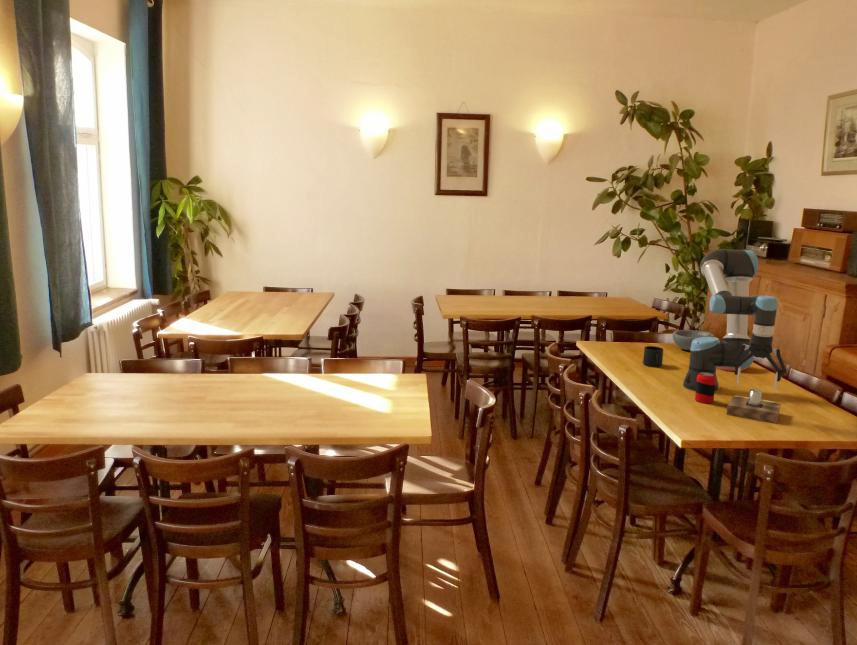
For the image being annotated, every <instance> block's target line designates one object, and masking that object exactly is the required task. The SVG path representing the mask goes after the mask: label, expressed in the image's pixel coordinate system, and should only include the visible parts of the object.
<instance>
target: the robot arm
mask: <svg viewBox="0 0 857 645" xmlns="http://www.w3.org/2000/svg"><path fill="white" fill-rule="evenodd" d="M699 270H700V272H701V275H702V276H703V277H704V278H705V280H706V282H707V285H708V288H709V291H710V294H711V296H710V299H709V311H710V312H711V313H713V314H719V315H727V316H726V334H725V335H724V336H723V337H722V341H721V340H720V338H718V337H716V336H715V337H700V338H696V339H694V340H693V341H692V344H691V348H690V350H691V351H690V352H689V353H690V354H689V361H688V362H689V364H688V371H687V373H686V375H685V377H684V379H683V383H682V385H683V387H684V388H686V389H689V390H692V391H696V382H697V376H698V375H699V374H700V373H703V372H705V373H711V374H714V376H715V377H716V384H715V392H717V391H718V390H719V387H720V386H719V385H720V384H719V381H718V377H717V368H716V367H731V368H735V371H734V376H736V384H739V383H740V378H741V372H742V371H741V368H746V369H747V368H750V367H751V365H752V364H753V362H754V359H755V358H760V359H765V358H766V359H767V360H768V361H769V364H771V365H772V367H773V369H774V370H775V371H776V372H775V376H774V384H773V390H775V391H776V390H777V385H778V382H781V379H782V374H786V373H787V372H788V369H787V366H786V364H785V361H784V359H783V357H782V355H781V348H780V347H778V348H773V341H774V338H773V337H774V336H773V335H775V333H774V332H775V326H776V325H775V324H776V317H777V312H778V308H779V307H778V306H779V305H778V298H777V297H775V296H772V295H751V296H750V294H749V293H750V282H752V281H753V280H754V277H755V276H757V274H758V272H759V271H758V270H759V259H758V256H757V254H756V252H755V251H753V250H748V249H726V248H724V249H723V248H719V249H714V250H711V251H709V252H708V253H706V254H705V255H704V256H703V258H702V260H701V261H700V265H699ZM749 316H754V319H753V325H752V335H751V337H750V336H749V335H748V326H749V324H748V323H749ZM772 352H773V353H774V354H775V355H776V357H777V360H778V363H777V361H775V360H774V359H773V357H772V355H771V354H772ZM778 364H779V365H780V366H779V365H778Z"/></svg>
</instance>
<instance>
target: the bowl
mask: <svg viewBox="0 0 857 645" xmlns="http://www.w3.org/2000/svg"><path fill="white" fill-rule="evenodd" d="M700 337H715V338H716V336H715V335H714V334H713V333H712V332H709V331H706V330H705V331H704V330H693V329H680V330H675V331H673V332H672V340H673V341H674V343H675V344H676V346H677V347H679V348H681V349H683V350H685V351H690V352H691V350H690V348H691V344H692V341H693V340H694V339H696V338H700Z"/></svg>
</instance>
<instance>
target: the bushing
mask: <svg viewBox="0 0 857 645" xmlns="http://www.w3.org/2000/svg"><path fill="white" fill-rule="evenodd" d="M762 393H763V391H762V390H761V389H757V388H750V389H749V396H748V397H749V402H748V406H753V407H759V408H760V403H761V400H762V395H763V394H762Z"/></svg>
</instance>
